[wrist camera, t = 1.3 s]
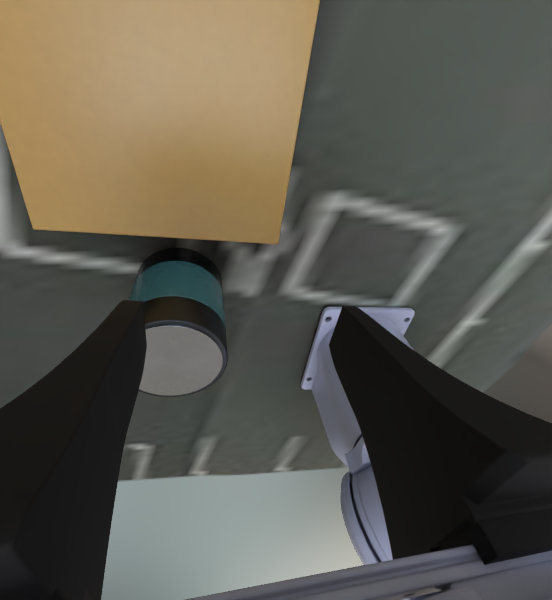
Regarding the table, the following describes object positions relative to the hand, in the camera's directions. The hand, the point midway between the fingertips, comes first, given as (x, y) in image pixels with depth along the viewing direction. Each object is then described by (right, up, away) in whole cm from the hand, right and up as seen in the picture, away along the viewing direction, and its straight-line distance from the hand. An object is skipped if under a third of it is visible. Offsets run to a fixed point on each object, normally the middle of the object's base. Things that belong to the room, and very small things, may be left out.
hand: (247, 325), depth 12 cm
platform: (-4, +10, +3) cm, 12 cm away
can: (-5, +2, +9) cm, 11 cm away
